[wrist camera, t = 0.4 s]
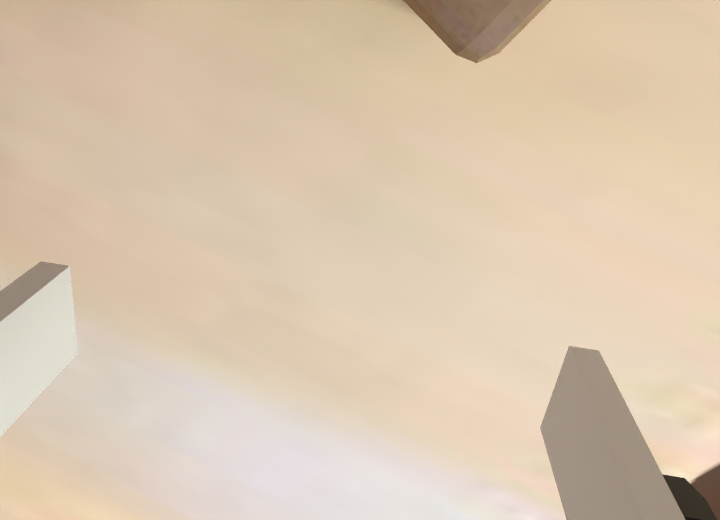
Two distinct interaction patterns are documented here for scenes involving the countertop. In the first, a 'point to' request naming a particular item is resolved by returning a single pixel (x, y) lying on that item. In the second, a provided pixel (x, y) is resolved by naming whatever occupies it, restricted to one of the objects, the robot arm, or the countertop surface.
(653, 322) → the countertop surface
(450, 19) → the wooden block
